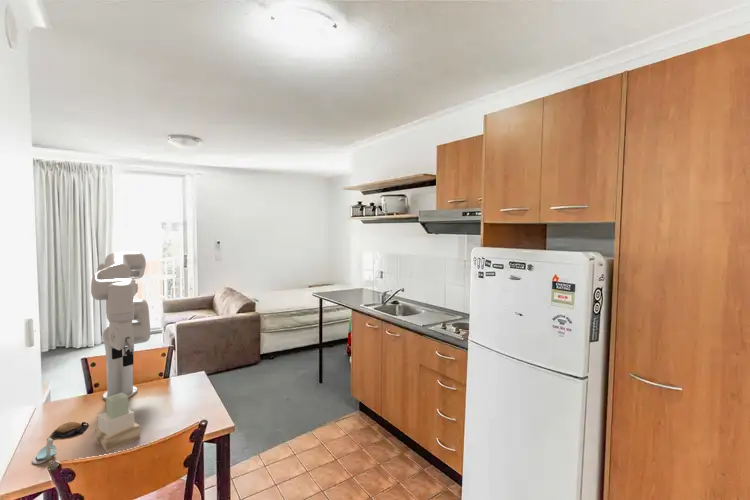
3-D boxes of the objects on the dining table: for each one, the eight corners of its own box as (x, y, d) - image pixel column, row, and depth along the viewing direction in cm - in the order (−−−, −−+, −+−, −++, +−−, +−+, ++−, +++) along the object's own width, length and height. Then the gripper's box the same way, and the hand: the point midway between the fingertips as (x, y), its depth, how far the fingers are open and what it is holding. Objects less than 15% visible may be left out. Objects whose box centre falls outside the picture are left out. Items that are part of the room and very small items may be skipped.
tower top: (98, 428, 127) (97, 415, 127) (123, 418, 134) (123, 405, 133) (108, 436, 123) (108, 422, 122) (134, 425, 129) (134, 412, 129)
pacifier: (31, 468, 113) (57, 459, 117) (30, 449, 113) (55, 441, 117) (32, 457, 119) (56, 449, 123) (30, 439, 118) (55, 431, 122)
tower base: (95, 442, 127) (95, 428, 127) (127, 429, 136) (127, 416, 135) (106, 453, 122) (106, 438, 121) (139, 439, 130) (139, 425, 130)
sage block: (106, 414, 127) (106, 397, 127) (123, 408, 131) (122, 392, 131) (112, 418, 124) (111, 401, 124) (128, 412, 129) (128, 396, 128)
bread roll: (45, 443, 127) (44, 433, 127) (56, 430, 135) (55, 420, 134) (82, 437, 131) (82, 427, 131) (91, 424, 139) (90, 415, 138)
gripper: (100, 313, 134) (101, 358, 135) (119, 323, 124) (120, 371, 126) (123, 310, 140) (124, 352, 142) (143, 319, 130) (144, 365, 132)
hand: (122, 361), depth 134 cm, fingers open, 9 cm apart
